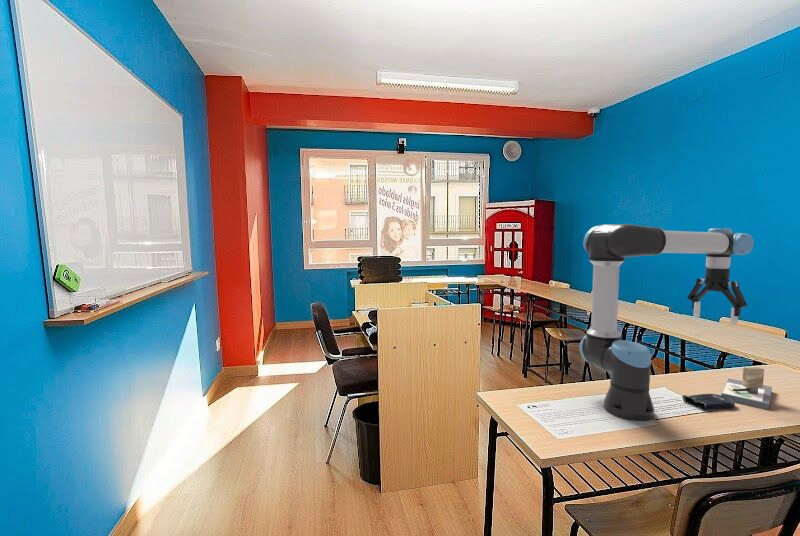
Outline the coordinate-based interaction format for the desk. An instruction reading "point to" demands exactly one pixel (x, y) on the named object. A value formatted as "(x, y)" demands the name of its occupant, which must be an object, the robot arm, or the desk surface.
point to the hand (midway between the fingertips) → (714, 320)
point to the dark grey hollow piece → (710, 401)
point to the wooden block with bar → (752, 379)
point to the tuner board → (747, 394)
